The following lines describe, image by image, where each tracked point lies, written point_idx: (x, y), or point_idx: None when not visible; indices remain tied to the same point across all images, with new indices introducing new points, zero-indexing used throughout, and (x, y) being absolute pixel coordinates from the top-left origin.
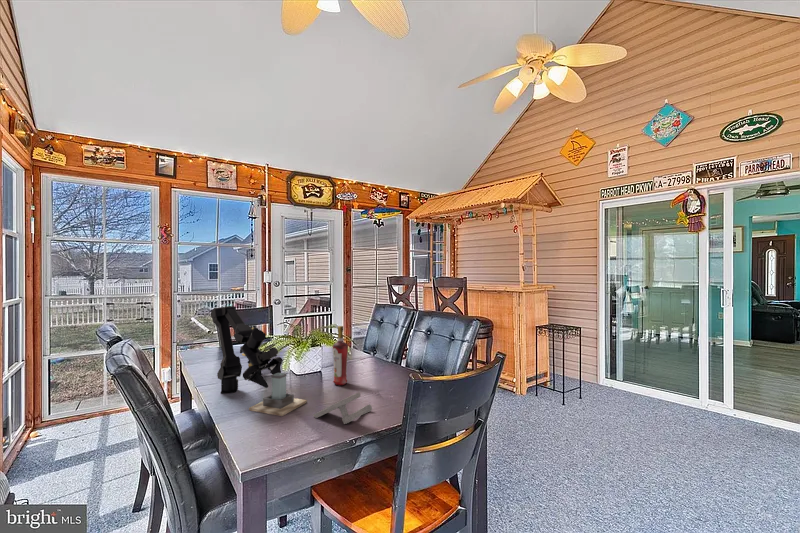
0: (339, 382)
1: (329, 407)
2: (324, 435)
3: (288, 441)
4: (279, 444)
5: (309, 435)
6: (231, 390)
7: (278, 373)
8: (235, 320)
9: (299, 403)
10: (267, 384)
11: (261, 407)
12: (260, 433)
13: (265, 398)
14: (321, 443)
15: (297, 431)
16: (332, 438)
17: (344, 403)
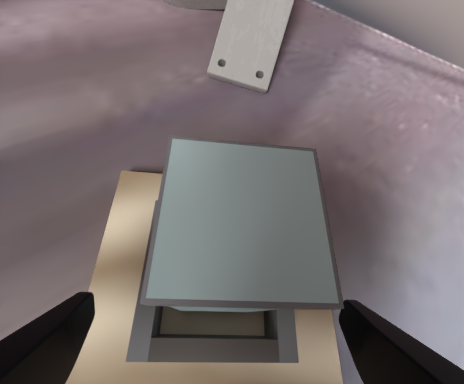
0: None
1: (292, 3)
2: (343, 44)
3: (417, 93)
4: (441, 102)
5: (364, 67)
6: None
7: (200, 251)
8: None
9: None
10: (360, 311)
11: (305, 343)
12: (446, 177)
13: (291, 341)
14: (375, 39)
15: (366, 97)
16: (345, 30)
17: None
